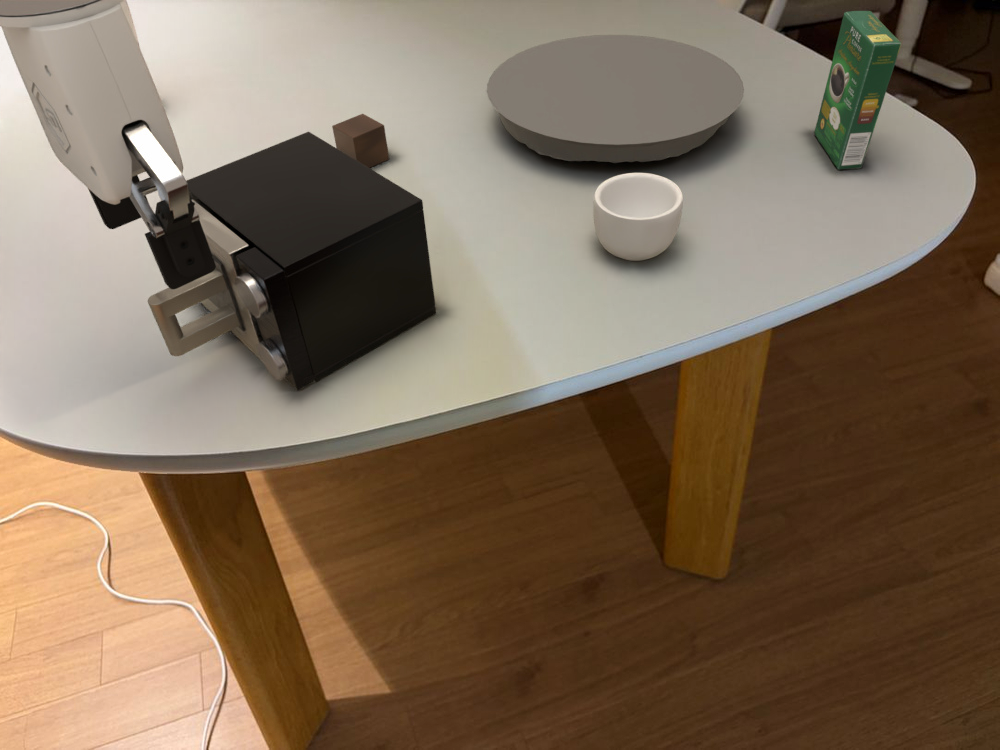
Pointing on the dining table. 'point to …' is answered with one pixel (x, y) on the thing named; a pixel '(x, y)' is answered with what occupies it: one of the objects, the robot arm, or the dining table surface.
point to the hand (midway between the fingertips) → (159, 247)
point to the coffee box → (855, 88)
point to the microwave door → (208, 297)
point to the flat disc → (614, 97)
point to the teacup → (637, 214)
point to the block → (362, 140)
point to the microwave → (321, 254)
